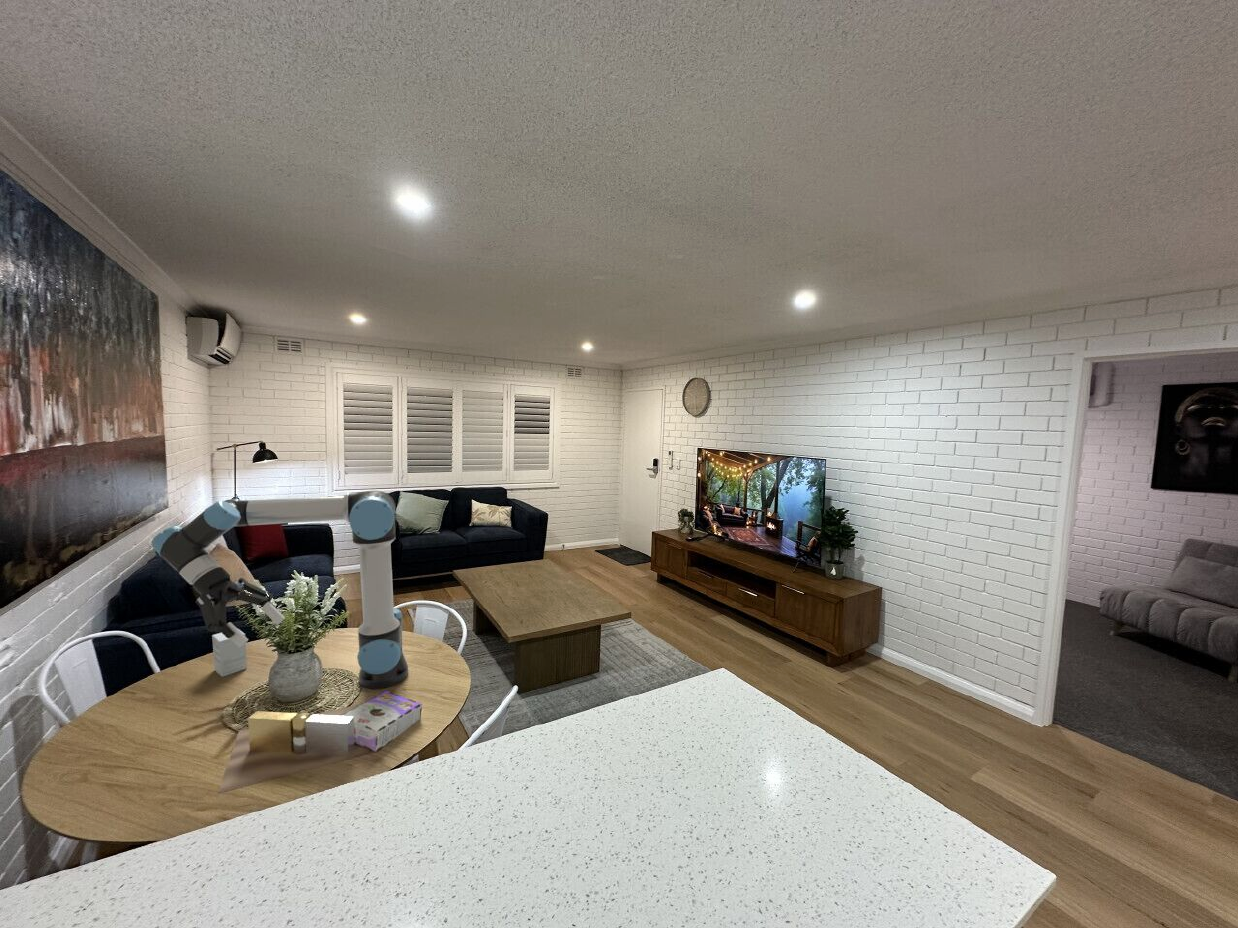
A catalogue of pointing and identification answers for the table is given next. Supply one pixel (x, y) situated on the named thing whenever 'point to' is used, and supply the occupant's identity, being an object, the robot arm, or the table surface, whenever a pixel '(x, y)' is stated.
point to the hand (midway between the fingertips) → (263, 632)
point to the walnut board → (275, 760)
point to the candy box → (383, 719)
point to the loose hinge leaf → (275, 730)
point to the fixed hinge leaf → (326, 736)
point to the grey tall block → (228, 655)
